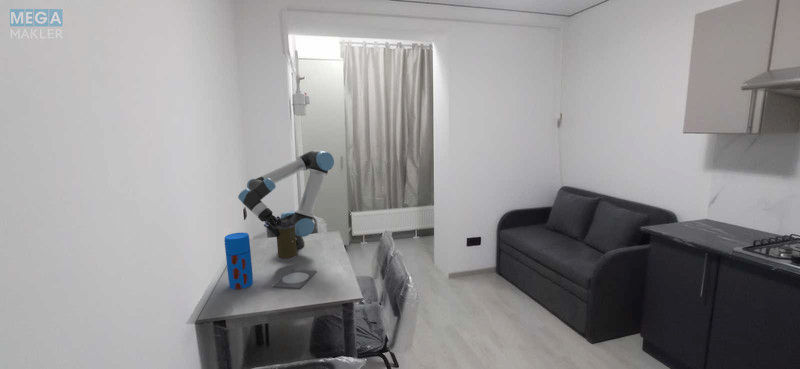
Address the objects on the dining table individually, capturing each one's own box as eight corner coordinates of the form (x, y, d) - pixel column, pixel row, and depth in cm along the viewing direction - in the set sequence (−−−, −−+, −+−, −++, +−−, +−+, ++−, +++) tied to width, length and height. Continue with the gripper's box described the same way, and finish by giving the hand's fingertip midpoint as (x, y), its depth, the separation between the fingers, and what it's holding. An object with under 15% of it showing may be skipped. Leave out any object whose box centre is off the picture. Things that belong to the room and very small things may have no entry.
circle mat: (292, 270, 189) (291, 269, 188) (316, 272, 186) (316, 270, 186) (272, 287, 169) (272, 285, 169) (300, 289, 167) (299, 287, 167)
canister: (291, 259, 189) (288, 223, 186) (274, 258, 191) (271, 223, 188) (301, 252, 199) (298, 218, 196) (284, 251, 201) (281, 217, 198)
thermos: (236, 279, 179) (231, 232, 175) (256, 279, 178) (252, 232, 174) (225, 289, 168) (219, 239, 164) (247, 289, 168) (242, 239, 163)
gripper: (266, 213, 202) (295, 241, 202) (250, 220, 186) (281, 251, 186) (274, 204, 200) (303, 232, 200) (258, 211, 184) (290, 242, 184)
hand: (293, 241), depth 193 cm, fingers open, 3 cm apart
